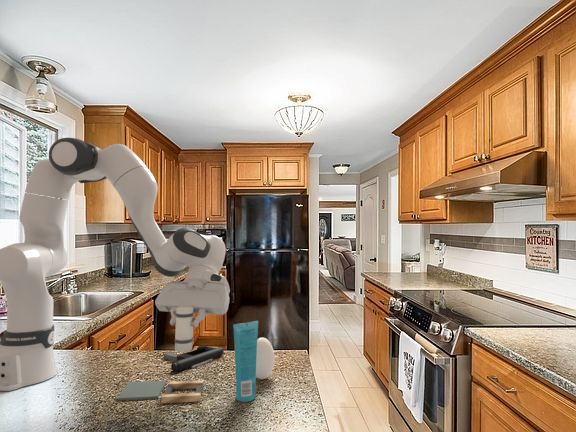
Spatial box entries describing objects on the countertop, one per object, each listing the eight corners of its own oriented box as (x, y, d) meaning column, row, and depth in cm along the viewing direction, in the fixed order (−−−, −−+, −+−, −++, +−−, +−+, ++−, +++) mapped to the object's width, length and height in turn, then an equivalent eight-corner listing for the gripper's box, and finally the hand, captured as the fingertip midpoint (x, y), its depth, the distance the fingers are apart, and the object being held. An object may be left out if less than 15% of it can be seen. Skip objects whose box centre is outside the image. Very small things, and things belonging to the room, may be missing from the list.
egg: (249, 374, 111) (249, 334, 111) (273, 373, 111) (274, 334, 112) (248, 384, 103) (249, 341, 104) (275, 383, 104) (275, 341, 104)
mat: (116, 400, 92) (117, 398, 93) (128, 384, 102) (128, 382, 102) (158, 398, 94) (158, 396, 94) (165, 382, 104) (166, 380, 104)
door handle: (147, 356, 119) (178, 364, 110) (196, 341, 135) (227, 347, 126) (147, 366, 119) (179, 375, 110) (196, 351, 135) (227, 357, 126)
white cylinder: (172, 352, 94) (174, 309, 95) (176, 346, 99) (177, 305, 99) (191, 351, 95) (192, 308, 95) (193, 346, 100) (194, 305, 100)
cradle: (161, 403, 91) (161, 397, 91) (168, 387, 101) (168, 381, 101) (199, 401, 92) (200, 395, 93) (203, 385, 102) (203, 380, 102)
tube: (251, 390, 99) (252, 318, 100) (262, 396, 95) (263, 321, 96) (227, 399, 94) (229, 323, 95) (239, 406, 90) (240, 326, 91)
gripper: (163, 274, 106) (142, 316, 96) (230, 277, 103) (216, 321, 93) (170, 287, 111) (151, 328, 101) (235, 291, 107) (222, 334, 97)
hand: (183, 325), depth 97 cm, fingers closed on white cylinder, 4 cm apart
